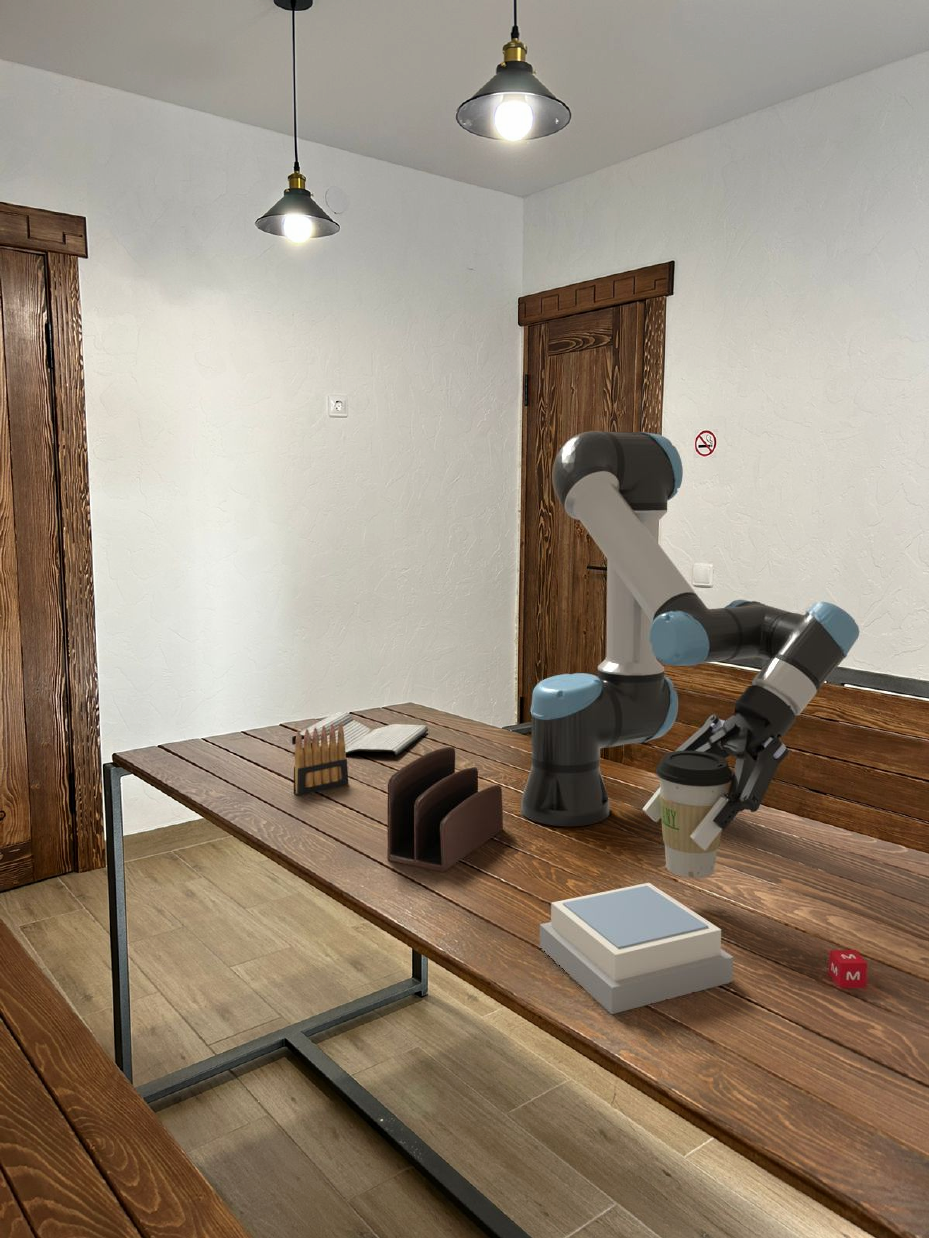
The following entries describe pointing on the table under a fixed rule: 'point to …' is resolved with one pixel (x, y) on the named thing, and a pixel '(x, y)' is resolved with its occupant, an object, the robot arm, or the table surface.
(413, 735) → the open book
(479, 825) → the letter holder
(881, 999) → the table surface
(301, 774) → the ammunition clip
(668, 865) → the coffee cup
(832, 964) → the red letter cube
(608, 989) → the plinth
